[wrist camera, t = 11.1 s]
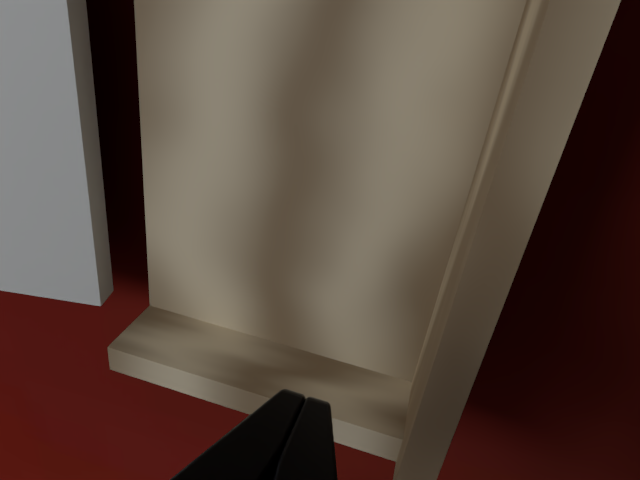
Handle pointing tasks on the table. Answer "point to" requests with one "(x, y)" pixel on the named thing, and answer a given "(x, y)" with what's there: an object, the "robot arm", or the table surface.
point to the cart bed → (346, 198)
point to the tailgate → (50, 156)
